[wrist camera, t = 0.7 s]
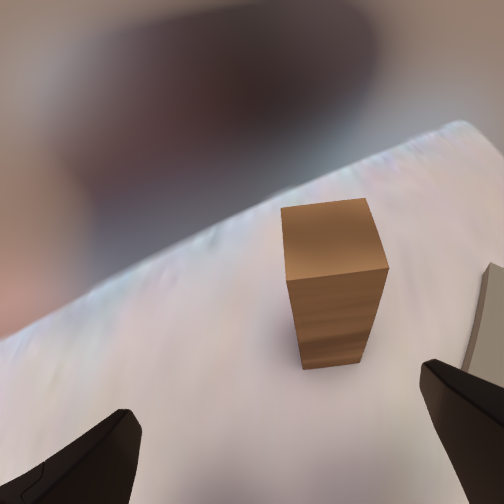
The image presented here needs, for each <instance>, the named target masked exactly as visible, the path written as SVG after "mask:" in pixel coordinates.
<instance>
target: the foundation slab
mask: <svg viewBox="0 0 504 504" xmlns="http://www.w3.org/2000/svg"><path fill="white" fill-rule="evenodd" d="M461 370H463V371H465V372H467V373H470V374H472V375H474V376H477V377H479V378H482V379H484V380H486V381H489V382H491V383H494V384H496V385H498V386H501V387H503V388H504V268H502V267H500V266H498V265H495V264H493V263H491V262H490V264H489V265H488V267H487V269H486V270H485V272H484V274H483V278H482V285H481V291H480V296H479V302H478V307H477V312H476V317H475V321H474V325H473V330H472V334H471V338H470V342H469V345H468V349H467V353H466V356H465V360H464V363H463V366H462V369H461Z"/></svg>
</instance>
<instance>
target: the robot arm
mask: <svg viewBox="0 0 504 504" xmlns="http://www.w3.org/2000/svg"><path fill="white" fill-rule="evenodd" d="M419 385H420V390H421V393H422V395H423V398H424V401H425V403H426V406H427V409H428V411H429V414H430V417H431V420H432V422H433V425H434V428H435V430H436V432H437V434H438V436H439V438H440V440H441V442H442V444H443V446H444V448H445V450H446V453H447V455H448V457H449V459H450V461H451V463H452V465H453V467H454V470H455V472H456V474H457V476H458V478H459V481H460V483H461V485H462V487H463V490H464V492H465V494H466V497H467V499H468V501H469V504H504V388H503V387H501V386H498V385H496V384H494V383H491V382H489V381H486V380H484V379H482V378H479V377H477V376H474V375H472V374H470V373H467V372H465V371H463V370H460V369H458V368H456V367H453V366H451V365H449V364H446V363H444V362H442V361H439V360H437V359H431V360H428V361H426V362H424V363H423V364H422V366H421V374H420V383H419ZM141 436H142V428H141V425H140V424H139V422H138V420H137V419H136V417H135V415H134V414H133V412H132V411H131V410H129V409H118V410H117V411H115V412H114V413H112V414H111V415H110V416H108V417H107V418H106V419H104V420H103V421H101V422H100V423H99V424H97V425H96V426H94V427H93V428H92V429H90V430H89V431H87V432H86V433H85V434H83V435H82V436H80V437H79V438H77V439H76V440H75V441H73V442H72V443H70V444H69V445H67V446H66V447H64V448H63V449H62V450H60V451H59V452H57V453H56V454H54V455H53V456H51V457H50V458H48V459H47V460H45V462H42V463H41V464H39V465H38V466H36V467H35V468H33V469H31V470H30V471H28V472H26V473H25V474H23V475H21V476H19V477H17V478H15V479H13V480H12V481H10V482H8V483H6V484H4V485H2V486H0V504H129V500H130V496H131V492H132V487H133V483H134V479H135V475H136V471H137V465H138V458H139V450H140V443H141Z"/></svg>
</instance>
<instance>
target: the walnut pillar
mask: <svg viewBox="0 0 504 504" xmlns="http://www.w3.org/2000/svg"><path fill="white" fill-rule="evenodd" d="M281 219H282V231H283V244H284V258H285V273H286V283H287V288H288V293H289V298H290V303H291V308H292V313H293V318H294V324H295V329H296V334H297V340H298V345H299V350H300V356H301V361H302V367H303V370H306V369H315V368H324V367H332V366H340V365H348V364H355V363H360V360H361V358H362V355H363V352H364V349H365V346H366V343H367V341H368V338H369V335H370V332H371V329H372V325H373V322H374V319H375V316H376V313H377V310H378V306H379V303H380V299H381V296H382V293H383V289H384V285H385V282H386V278H387V274H388V270H389V265H388V262H387V259H386V255H385V252H384V249H383V246H382V243H381V240H380V237H379V234H378V231H377V228H376V226H375V223H374V220H373V217H372V214H371V212H370V209H369V206H368V204H367V201H366V198H360V199H351V200H342V201H333V202H325V203H316V204H308V205H300V206H292V207H285V208H281Z"/></svg>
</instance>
